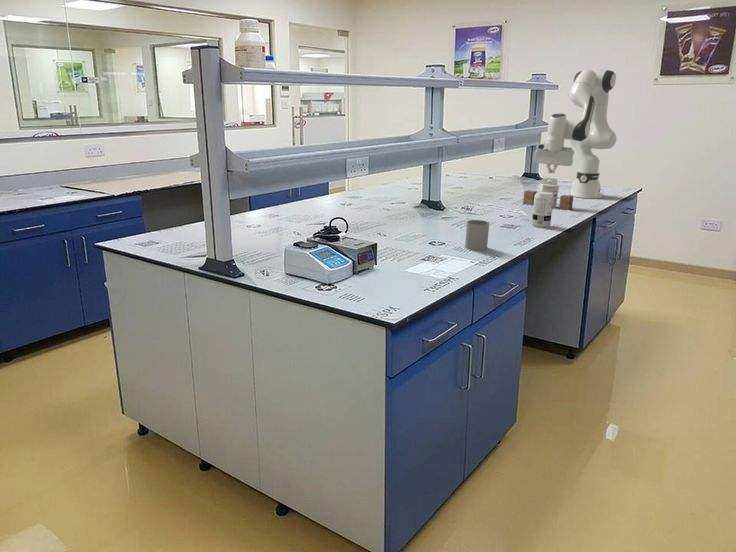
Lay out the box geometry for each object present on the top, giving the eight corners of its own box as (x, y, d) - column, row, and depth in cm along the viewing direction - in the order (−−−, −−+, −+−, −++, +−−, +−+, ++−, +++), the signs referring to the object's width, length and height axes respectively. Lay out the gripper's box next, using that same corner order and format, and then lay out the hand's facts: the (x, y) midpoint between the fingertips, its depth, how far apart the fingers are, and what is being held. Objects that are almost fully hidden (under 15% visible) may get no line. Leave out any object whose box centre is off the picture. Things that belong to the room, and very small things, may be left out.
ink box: (539, 207, 303) (543, 179, 298) (538, 205, 308) (541, 177, 303) (556, 207, 302) (559, 179, 298) (554, 206, 307) (557, 178, 302)
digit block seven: (527, 202, 314) (528, 189, 312) (535, 204, 311) (537, 191, 309) (523, 203, 310) (524, 190, 308) (531, 205, 307) (533, 192, 305)
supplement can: (529, 223, 263) (533, 191, 258) (547, 224, 263) (551, 191, 258) (533, 227, 255) (537, 194, 251) (552, 228, 255) (556, 194, 251)
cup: (462, 249, 217) (464, 223, 213) (467, 244, 224) (469, 219, 221) (485, 251, 214) (487, 225, 211) (488, 246, 221) (491, 221, 218)
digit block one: (562, 208, 302) (564, 194, 300) (571, 209, 299) (573, 195, 297) (558, 209, 298) (560, 195, 296) (568, 210, 295) (570, 197, 293)
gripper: (576, 147, 291) (573, 174, 295) (538, 144, 303) (535, 170, 308) (572, 148, 287) (568, 175, 291) (533, 145, 299) (530, 171, 303)
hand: (551, 173), depth 299 cm, fingers closed
